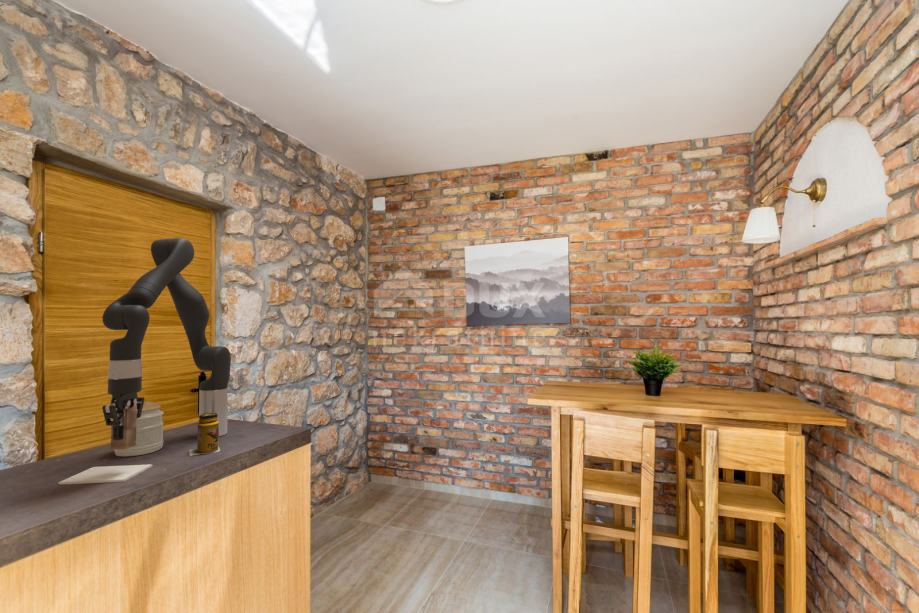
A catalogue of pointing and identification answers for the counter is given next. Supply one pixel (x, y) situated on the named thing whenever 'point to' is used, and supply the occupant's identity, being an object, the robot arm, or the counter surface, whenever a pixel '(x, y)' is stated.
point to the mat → (106, 474)
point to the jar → (146, 432)
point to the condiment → (207, 435)
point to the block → (126, 430)
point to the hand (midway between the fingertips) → (123, 437)
